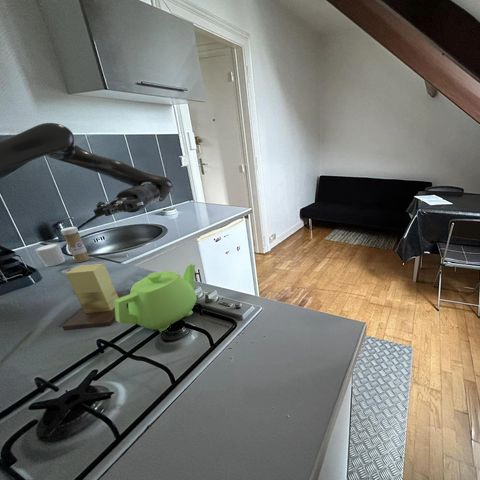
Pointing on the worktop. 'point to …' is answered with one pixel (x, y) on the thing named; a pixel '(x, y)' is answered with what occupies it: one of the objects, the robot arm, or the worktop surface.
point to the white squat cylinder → (50, 254)
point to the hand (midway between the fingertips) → (100, 212)
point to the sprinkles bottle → (75, 244)
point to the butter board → (92, 318)
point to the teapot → (158, 300)
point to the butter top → (89, 278)
